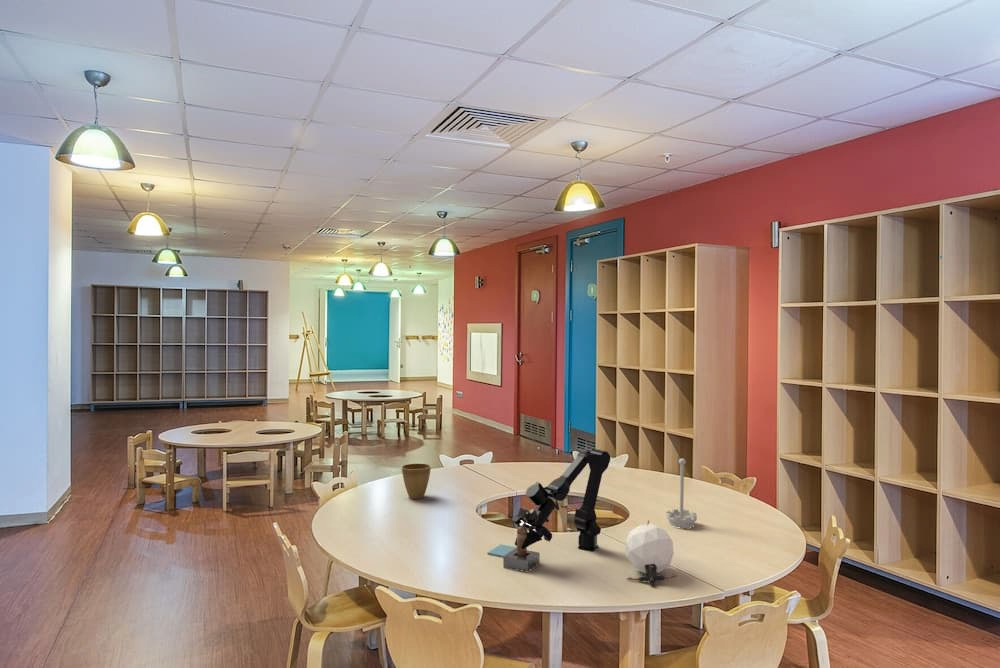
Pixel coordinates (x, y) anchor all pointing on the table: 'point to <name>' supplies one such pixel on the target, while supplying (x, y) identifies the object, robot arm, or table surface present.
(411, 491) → the plant pot
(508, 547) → the blue square plate
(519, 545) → the brown wooden pin
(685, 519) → the flag stand
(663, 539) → the white faceted globe lamp
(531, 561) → the block
